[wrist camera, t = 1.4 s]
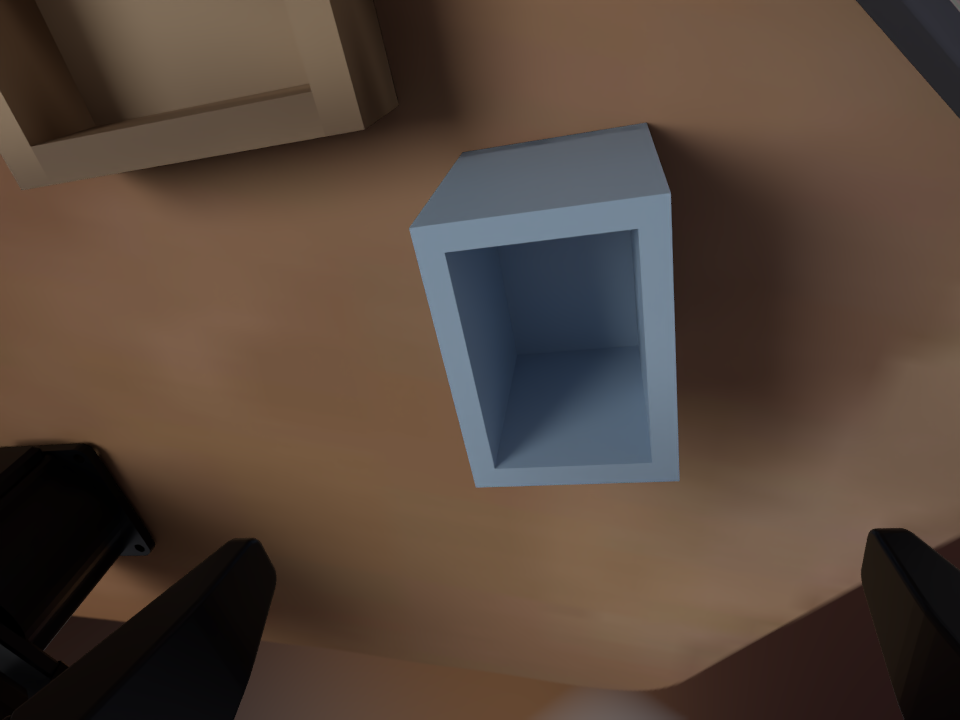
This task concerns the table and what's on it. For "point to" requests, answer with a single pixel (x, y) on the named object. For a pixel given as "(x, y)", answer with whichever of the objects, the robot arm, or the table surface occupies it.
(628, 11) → the table surface
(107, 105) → the walnut crate
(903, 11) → the grey and red box
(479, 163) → the small crate
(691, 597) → the table surface
